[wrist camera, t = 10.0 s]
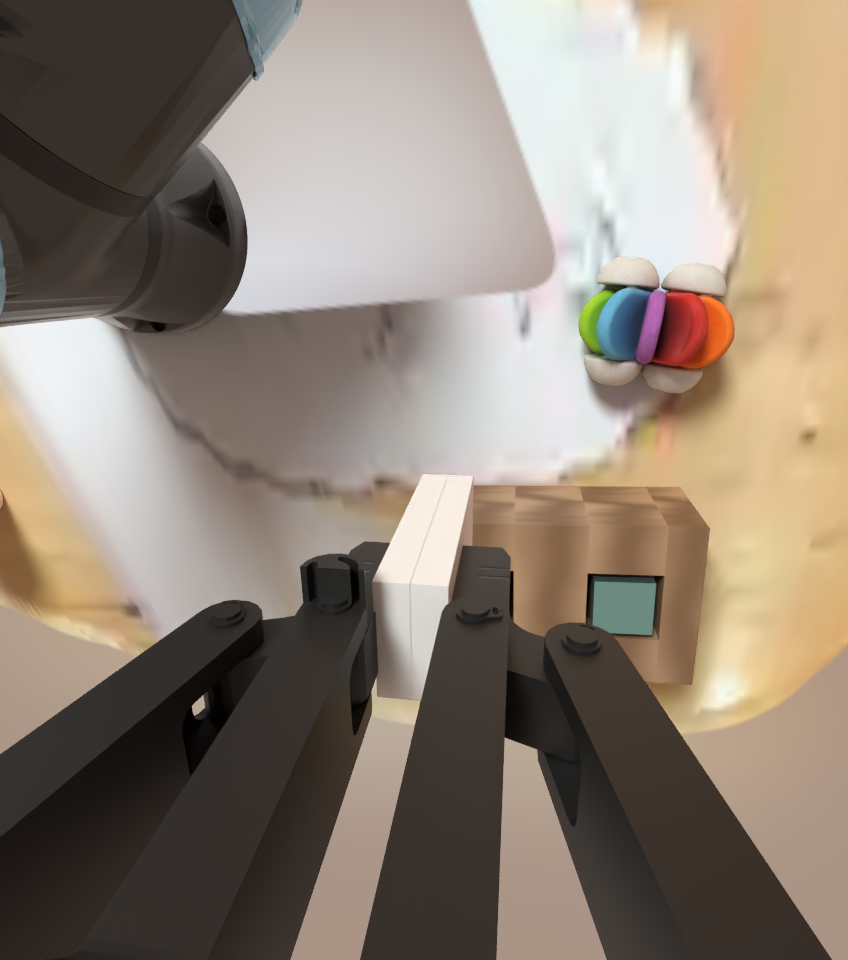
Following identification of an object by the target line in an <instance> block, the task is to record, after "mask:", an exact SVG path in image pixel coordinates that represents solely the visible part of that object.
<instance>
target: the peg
mask: <svg viewBox="0 0 848 960" xmlns="http://www.w3.org/2000/svg"><path fill="white" fill-rule="evenodd" d="M655 593H656V582H655V579H654V577H653V575H622V574H591V573H588V576H587V598H586V602H587V608H588V613H589V618H590V624H591V625H594V626H597V627H599V628H601V629H603V630H605V631H607V632H609V633H617V634H638V635H652V628H653V616H654V604H655Z"/></svg>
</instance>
